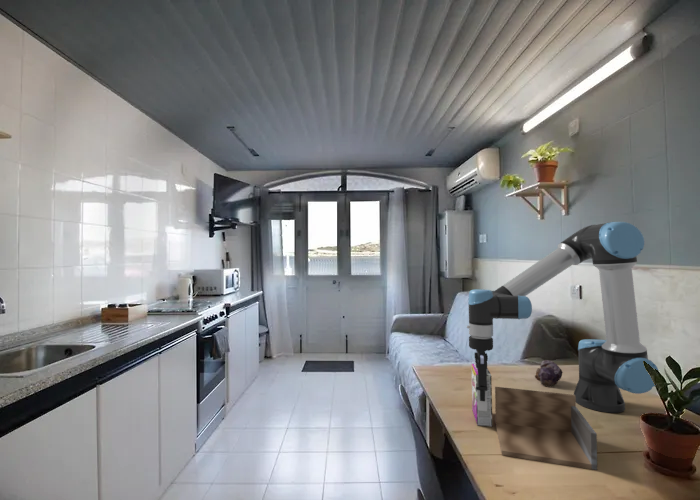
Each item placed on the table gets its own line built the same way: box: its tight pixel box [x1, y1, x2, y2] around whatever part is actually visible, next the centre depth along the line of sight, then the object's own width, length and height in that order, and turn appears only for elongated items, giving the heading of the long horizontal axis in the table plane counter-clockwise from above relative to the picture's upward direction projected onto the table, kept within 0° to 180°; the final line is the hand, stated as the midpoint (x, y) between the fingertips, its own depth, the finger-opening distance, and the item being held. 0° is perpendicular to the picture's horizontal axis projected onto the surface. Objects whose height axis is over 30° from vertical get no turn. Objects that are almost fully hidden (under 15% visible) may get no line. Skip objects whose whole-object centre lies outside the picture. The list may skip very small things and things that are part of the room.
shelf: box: [494, 386, 598, 471], centre depth 99 cm, size 22×18×12 cm
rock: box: [534, 359, 564, 387], centre depth 147 cm, size 12×9×10 cm
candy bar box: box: [471, 363, 493, 428], centre depth 115 cm, size 11×5×16 cm, turn 168°
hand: (481, 402), depth 115 cm, fingers closed on candy bar box, 11 cm apart
